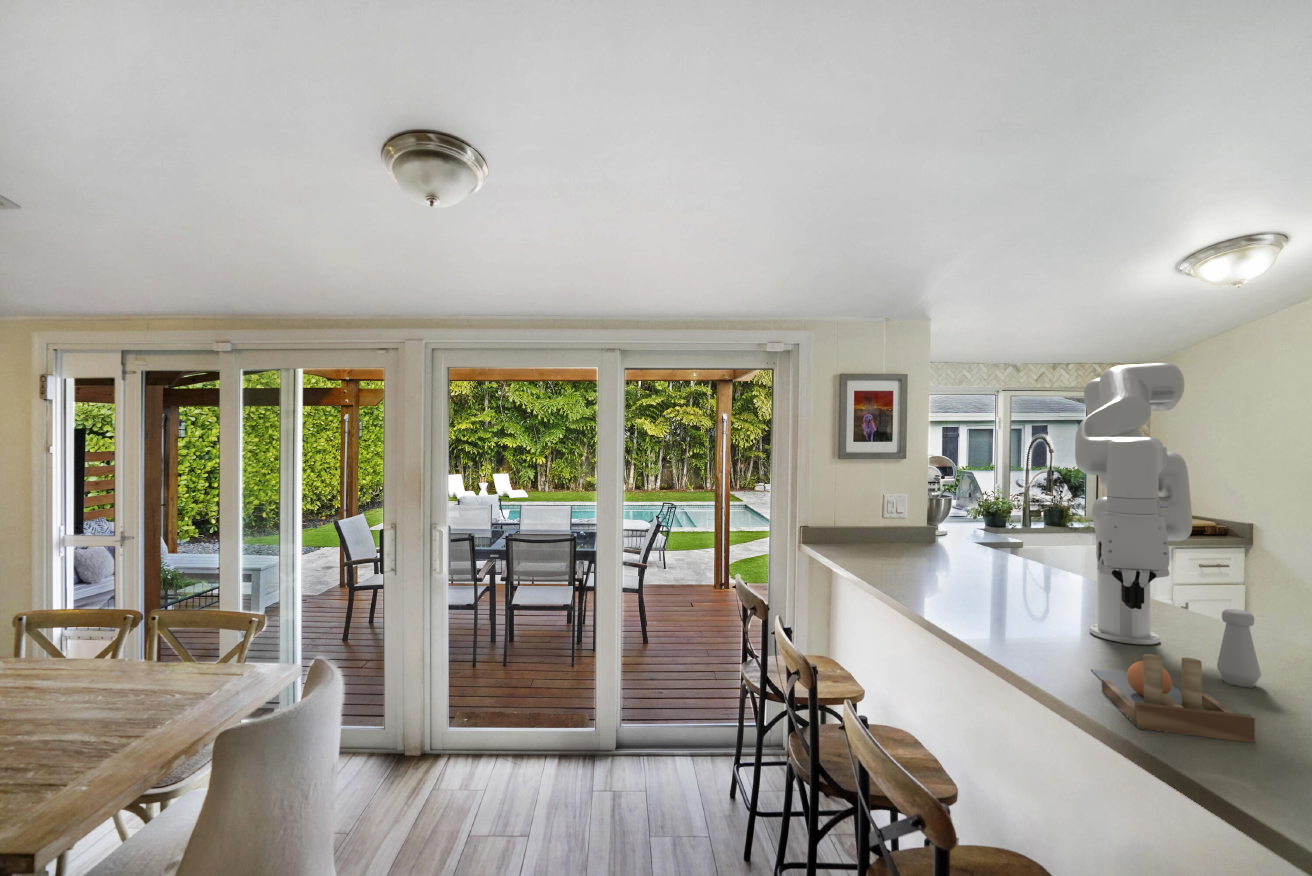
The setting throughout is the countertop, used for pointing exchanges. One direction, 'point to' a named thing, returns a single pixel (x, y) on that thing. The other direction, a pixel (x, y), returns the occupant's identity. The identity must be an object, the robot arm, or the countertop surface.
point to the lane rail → (1185, 717)
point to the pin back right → (1153, 679)
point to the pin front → (1170, 701)
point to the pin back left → (1191, 683)
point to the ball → (1137, 678)
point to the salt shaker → (1238, 650)
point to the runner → (1123, 685)
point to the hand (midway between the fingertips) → (1132, 606)
